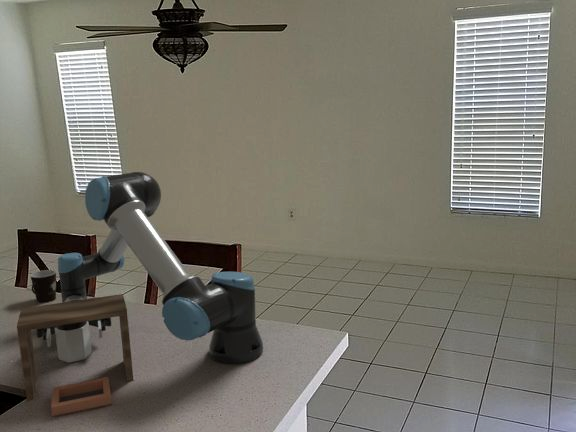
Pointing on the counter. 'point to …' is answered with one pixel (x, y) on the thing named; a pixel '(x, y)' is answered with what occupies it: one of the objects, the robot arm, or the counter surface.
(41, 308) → the archway
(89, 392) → the tray
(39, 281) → the coffee mug
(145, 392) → the counter surface
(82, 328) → the jar
